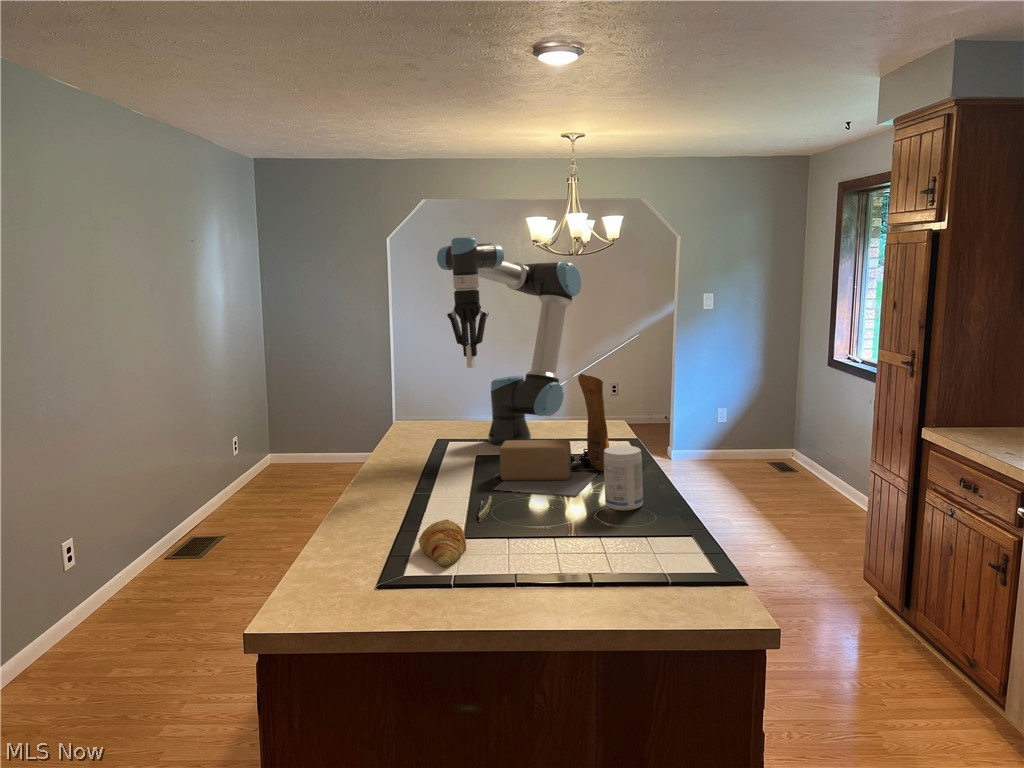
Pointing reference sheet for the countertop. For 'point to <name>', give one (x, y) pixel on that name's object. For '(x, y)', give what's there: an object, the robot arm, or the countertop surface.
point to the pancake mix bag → (595, 419)
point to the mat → (550, 485)
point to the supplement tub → (623, 477)
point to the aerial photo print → (486, 507)
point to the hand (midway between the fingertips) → (471, 366)
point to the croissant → (443, 542)
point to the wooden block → (535, 460)
